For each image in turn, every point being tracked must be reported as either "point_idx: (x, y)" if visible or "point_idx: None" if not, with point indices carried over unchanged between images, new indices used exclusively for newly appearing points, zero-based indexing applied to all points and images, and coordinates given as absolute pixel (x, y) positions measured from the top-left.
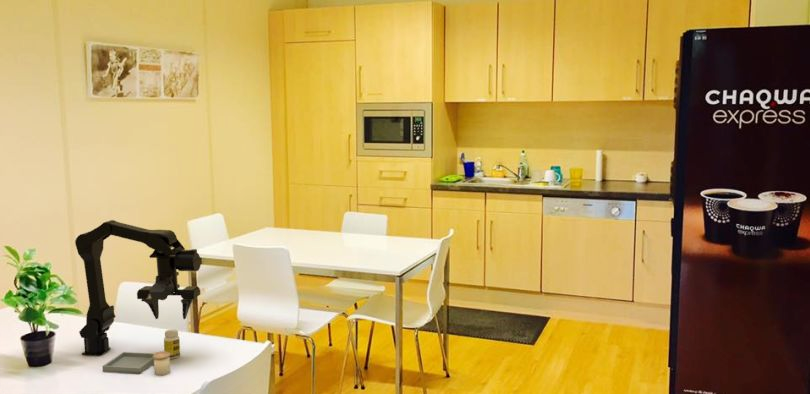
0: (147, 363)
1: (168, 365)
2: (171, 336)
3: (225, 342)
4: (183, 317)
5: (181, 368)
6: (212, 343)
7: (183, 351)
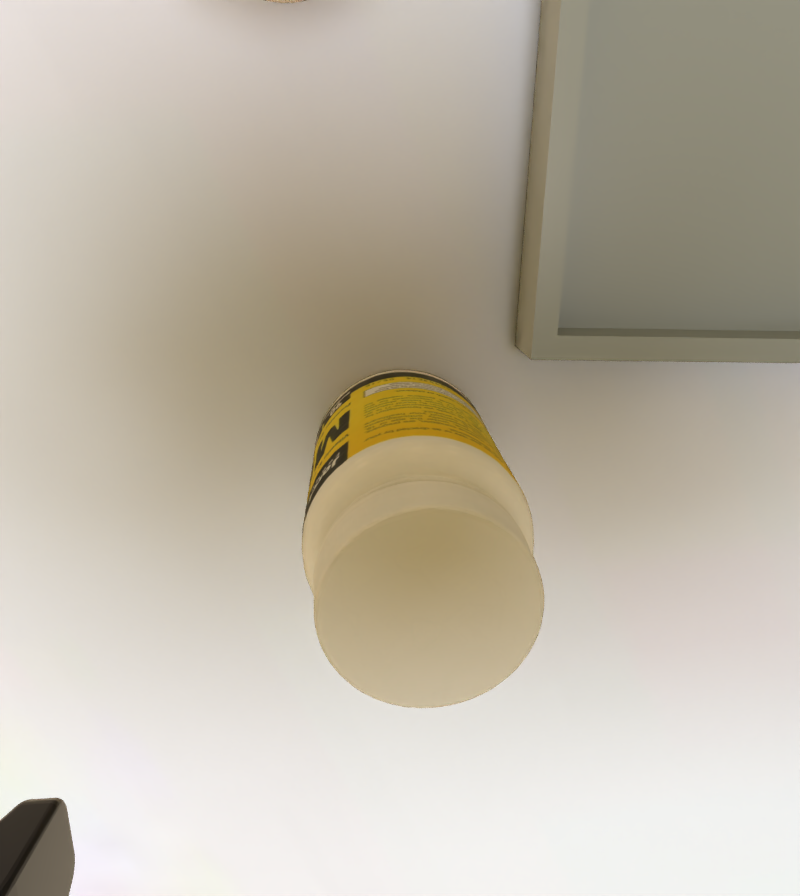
0: (556, 19)
1: None
2: (379, 490)
3: None
4: (20, 831)
5: (98, 81)
6: (150, 829)
7: None
